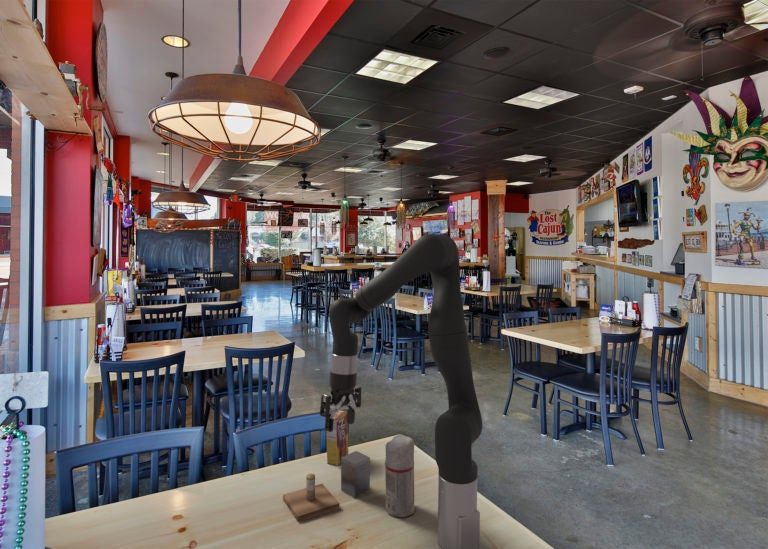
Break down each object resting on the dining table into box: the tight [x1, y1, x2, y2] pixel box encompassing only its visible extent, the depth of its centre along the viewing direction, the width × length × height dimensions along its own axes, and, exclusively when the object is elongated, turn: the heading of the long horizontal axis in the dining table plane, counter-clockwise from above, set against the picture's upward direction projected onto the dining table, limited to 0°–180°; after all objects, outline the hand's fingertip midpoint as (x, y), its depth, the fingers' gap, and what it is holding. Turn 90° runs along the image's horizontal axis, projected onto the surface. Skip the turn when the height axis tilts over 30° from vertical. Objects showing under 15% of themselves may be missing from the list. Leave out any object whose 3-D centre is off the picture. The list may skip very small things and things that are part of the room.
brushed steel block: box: [340, 450, 371, 499], centre depth 130 cm, size 6×6×10 cm
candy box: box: [326, 410, 350, 466], centre depth 150 cm, size 9×4×15 cm, turn 160°
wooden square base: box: [282, 473, 341, 523], centre depth 122 cm, size 12×12×8 cm
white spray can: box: [384, 434, 416, 518], centre depth 120 cm, size 8×8×20 cm
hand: (339, 427), depth 123 cm, fingers open, 8 cm apart
